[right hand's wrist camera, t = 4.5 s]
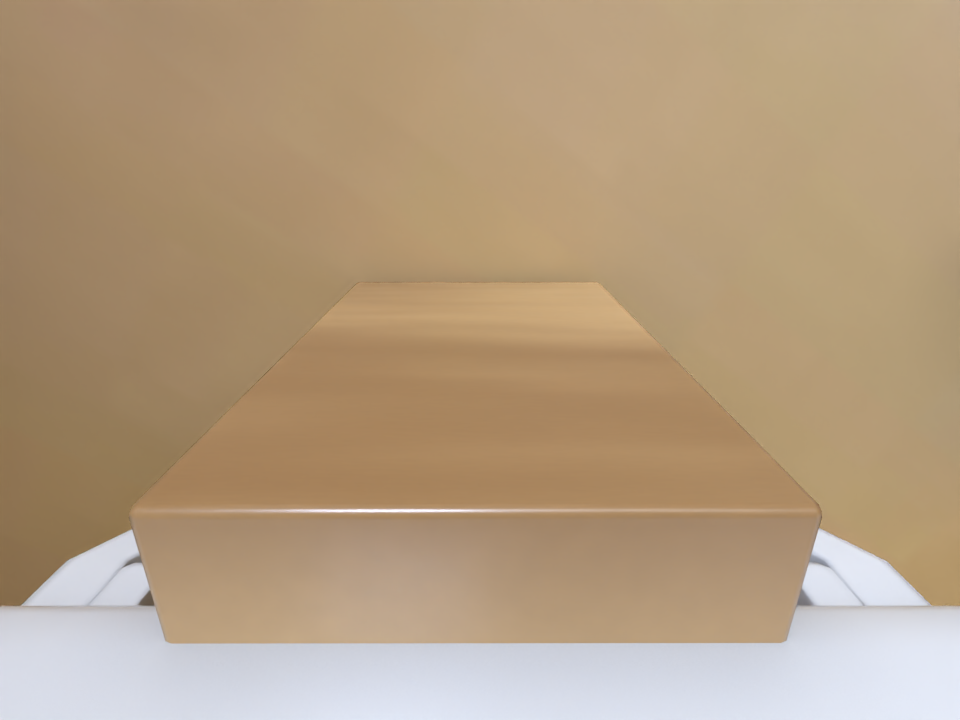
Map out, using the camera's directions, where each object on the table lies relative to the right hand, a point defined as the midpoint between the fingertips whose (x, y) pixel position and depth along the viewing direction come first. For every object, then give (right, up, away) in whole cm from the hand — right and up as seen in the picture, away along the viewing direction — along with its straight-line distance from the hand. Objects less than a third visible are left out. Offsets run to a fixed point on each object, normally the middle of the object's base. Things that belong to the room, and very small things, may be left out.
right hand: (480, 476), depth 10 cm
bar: (0, -8, +6) cm, 10 cm away
